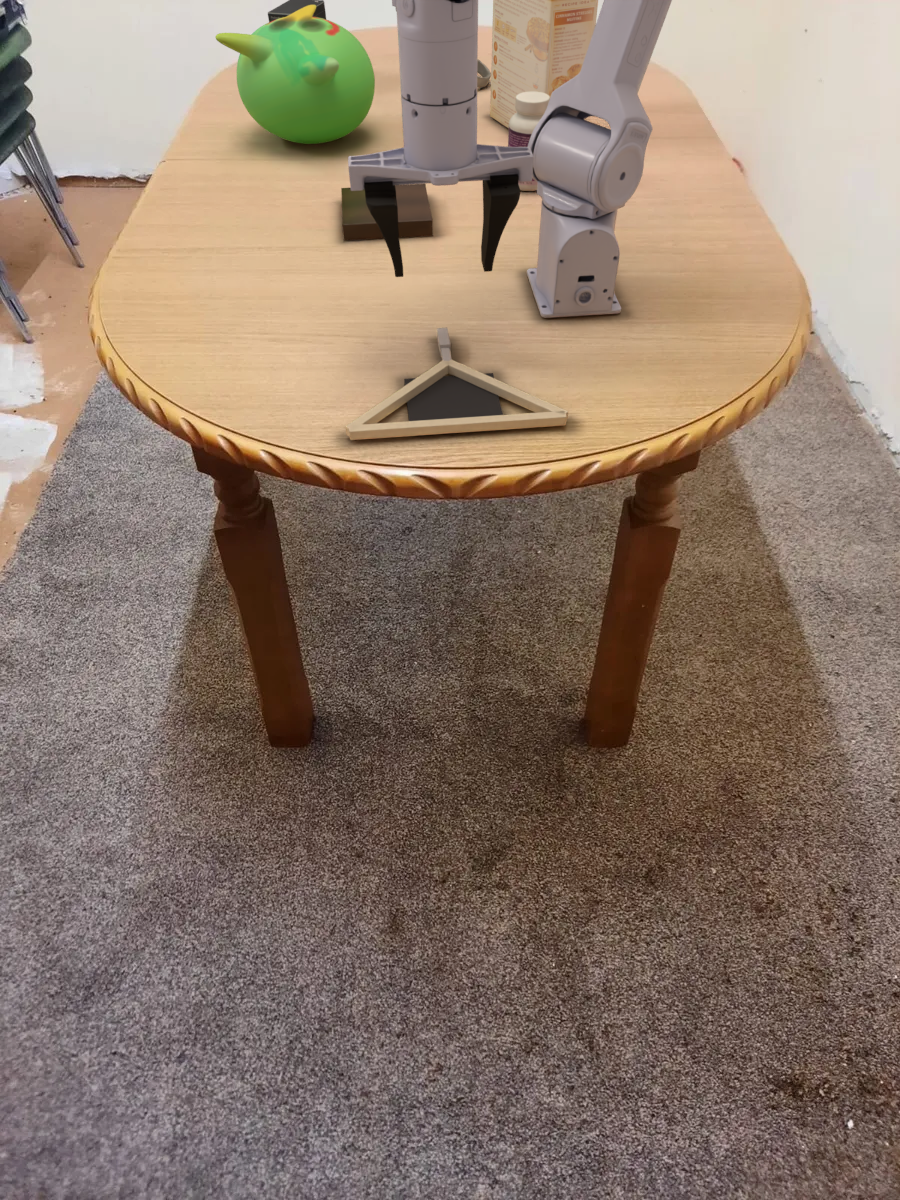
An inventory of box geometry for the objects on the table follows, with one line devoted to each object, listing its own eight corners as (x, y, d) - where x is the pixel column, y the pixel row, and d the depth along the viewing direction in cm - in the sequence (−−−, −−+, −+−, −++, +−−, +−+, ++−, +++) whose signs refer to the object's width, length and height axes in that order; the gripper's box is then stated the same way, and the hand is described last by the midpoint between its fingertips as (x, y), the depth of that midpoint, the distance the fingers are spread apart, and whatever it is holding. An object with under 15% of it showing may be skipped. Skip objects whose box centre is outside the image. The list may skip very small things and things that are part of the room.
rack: (432, 236, 93) (431, 190, 89) (344, 240, 92) (339, 194, 89) (425, 199, 100) (424, 154, 96) (342, 203, 99) (338, 159, 95)
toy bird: (393, 124, 116) (386, -2, 105) (352, 170, 106) (339, 35, 95) (275, 113, 120) (257, -10, 109) (224, 156, 109) (198, 25, 98)
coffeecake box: (585, 143, 111) (604, -37, 96) (539, 152, 109) (552, -30, 94) (531, 108, 120) (541, -61, 105) (487, 116, 118) (492, -55, 103)
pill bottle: (546, 193, 100) (553, 105, 93) (503, 190, 101) (506, 103, 94) (551, 176, 104) (558, 90, 96) (510, 173, 104) (513, 87, 97)
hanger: (539, 332, 78) (540, 321, 78) (569, 425, 69) (570, 413, 68) (343, 345, 77) (342, 333, 76) (346, 440, 68) (344, 428, 67)
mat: (505, 429, 69) (505, 426, 69) (410, 435, 68) (410, 432, 68) (492, 375, 74) (493, 372, 74) (404, 381, 74) (404, 378, 73)
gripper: (342, 117, 58) (360, 297, 68) (544, 106, 59) (532, 286, 69) (341, 84, 63) (358, 257, 73) (528, 75, 64) (519, 247, 74)
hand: (442, 268), depth 72 cm, fingers open, 7 cm apart
